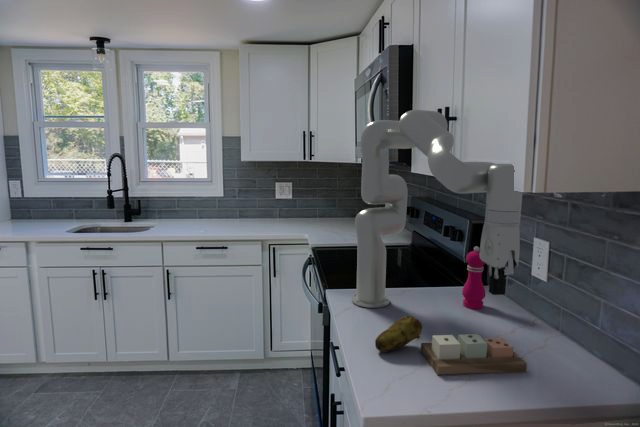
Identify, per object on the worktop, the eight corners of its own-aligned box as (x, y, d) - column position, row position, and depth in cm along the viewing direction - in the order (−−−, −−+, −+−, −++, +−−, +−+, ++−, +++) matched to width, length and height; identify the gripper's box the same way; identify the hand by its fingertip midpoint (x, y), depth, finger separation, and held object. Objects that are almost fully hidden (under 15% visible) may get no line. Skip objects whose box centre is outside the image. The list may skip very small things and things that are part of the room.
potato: (369, 342, 113) (369, 313, 111) (415, 339, 114) (416, 311, 113) (377, 357, 104) (378, 326, 103) (427, 354, 106) (429, 324, 105)
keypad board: (420, 350, 108) (421, 342, 108) (499, 348, 110) (500, 340, 110) (437, 375, 96) (438, 366, 96) (526, 372, 98) (526, 363, 98)
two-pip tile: (457, 350, 105) (458, 333, 104) (476, 349, 105) (477, 333, 105) (465, 359, 100) (466, 343, 99) (486, 359, 101) (487, 342, 100)
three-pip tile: (482, 353, 106) (483, 337, 105) (501, 353, 106) (502, 337, 106) (491, 363, 101) (493, 347, 100) (512, 363, 101) (513, 346, 101)
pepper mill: (481, 302, 143) (485, 244, 140) (487, 310, 136) (491, 249, 133) (459, 301, 144) (462, 243, 141) (464, 309, 137) (467, 248, 134)
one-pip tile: (431, 350, 104) (432, 334, 104) (451, 350, 105) (452, 334, 104) (438, 360, 100) (439, 343, 99) (459, 360, 100) (460, 343, 99)
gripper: (472, 212, 105) (467, 284, 108) (504, 223, 91) (497, 305, 93) (501, 212, 106) (495, 283, 109) (537, 222, 91) (530, 304, 94)
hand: (496, 293), depth 101 cm, fingers closed
